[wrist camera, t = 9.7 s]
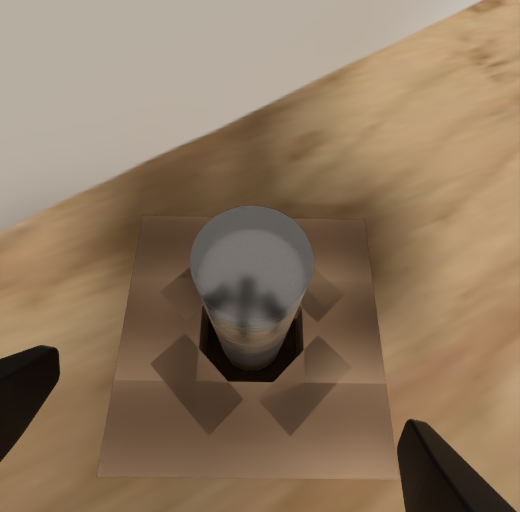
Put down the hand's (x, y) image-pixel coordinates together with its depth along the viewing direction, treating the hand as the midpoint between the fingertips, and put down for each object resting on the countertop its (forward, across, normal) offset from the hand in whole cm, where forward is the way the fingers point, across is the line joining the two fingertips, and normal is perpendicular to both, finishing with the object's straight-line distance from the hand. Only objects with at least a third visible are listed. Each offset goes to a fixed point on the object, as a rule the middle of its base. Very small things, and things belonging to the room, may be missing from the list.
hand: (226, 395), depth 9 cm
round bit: (+9, 0, +4) cm, 10 cm away
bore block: (+9, 0, +4) cm, 10 cm away
